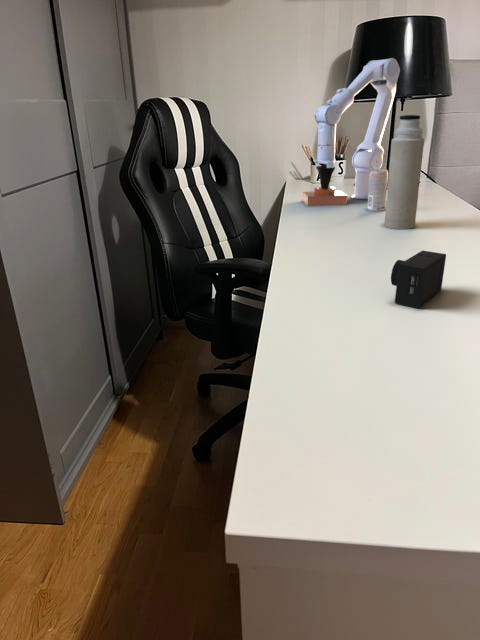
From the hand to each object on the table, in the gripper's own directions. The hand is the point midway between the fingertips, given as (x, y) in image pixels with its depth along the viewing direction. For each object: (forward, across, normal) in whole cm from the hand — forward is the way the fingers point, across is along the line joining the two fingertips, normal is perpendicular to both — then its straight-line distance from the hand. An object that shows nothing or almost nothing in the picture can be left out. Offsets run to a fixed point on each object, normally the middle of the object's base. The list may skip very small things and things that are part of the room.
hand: (324, 187), depth 168 cm
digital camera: (+5, +91, -3) cm, 91 cm away
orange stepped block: (+5, 0, 0) cm, 5 cm away
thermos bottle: (+5, +38, +13) cm, 40 cm away
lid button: (+2, 0, 0) cm, 2 cm away
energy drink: (+5, +15, +14) cm, 21 cm away
